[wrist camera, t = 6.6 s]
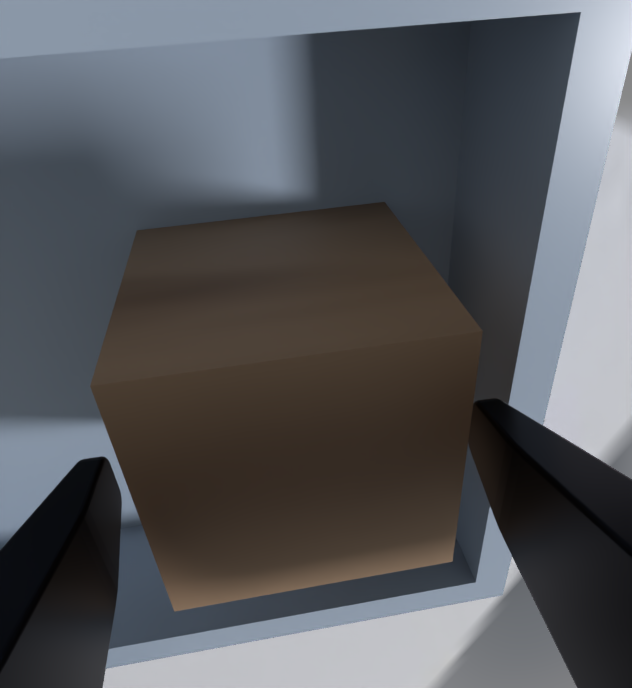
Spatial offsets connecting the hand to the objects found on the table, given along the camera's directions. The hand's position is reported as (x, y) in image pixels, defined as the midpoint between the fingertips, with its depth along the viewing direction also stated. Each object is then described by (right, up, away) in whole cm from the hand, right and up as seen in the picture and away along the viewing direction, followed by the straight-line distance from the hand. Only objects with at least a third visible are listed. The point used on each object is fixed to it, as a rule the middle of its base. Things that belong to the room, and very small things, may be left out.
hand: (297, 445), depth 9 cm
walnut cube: (-1, +2, +3) cm, 4 cm away
